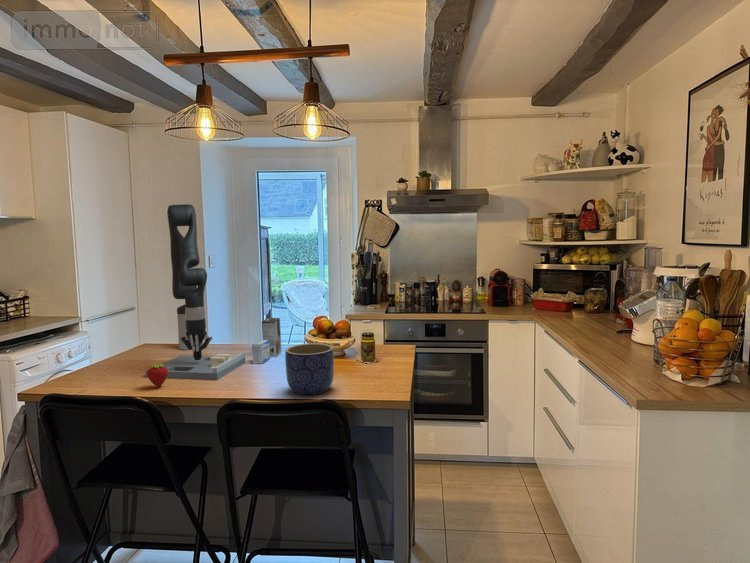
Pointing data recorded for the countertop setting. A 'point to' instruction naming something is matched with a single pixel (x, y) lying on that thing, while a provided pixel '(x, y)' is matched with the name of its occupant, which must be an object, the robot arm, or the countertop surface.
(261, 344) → the medicine box
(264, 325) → the coffee box
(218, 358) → the birch block
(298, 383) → the planter
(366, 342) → the condiment
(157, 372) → the strawberry
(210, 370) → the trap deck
